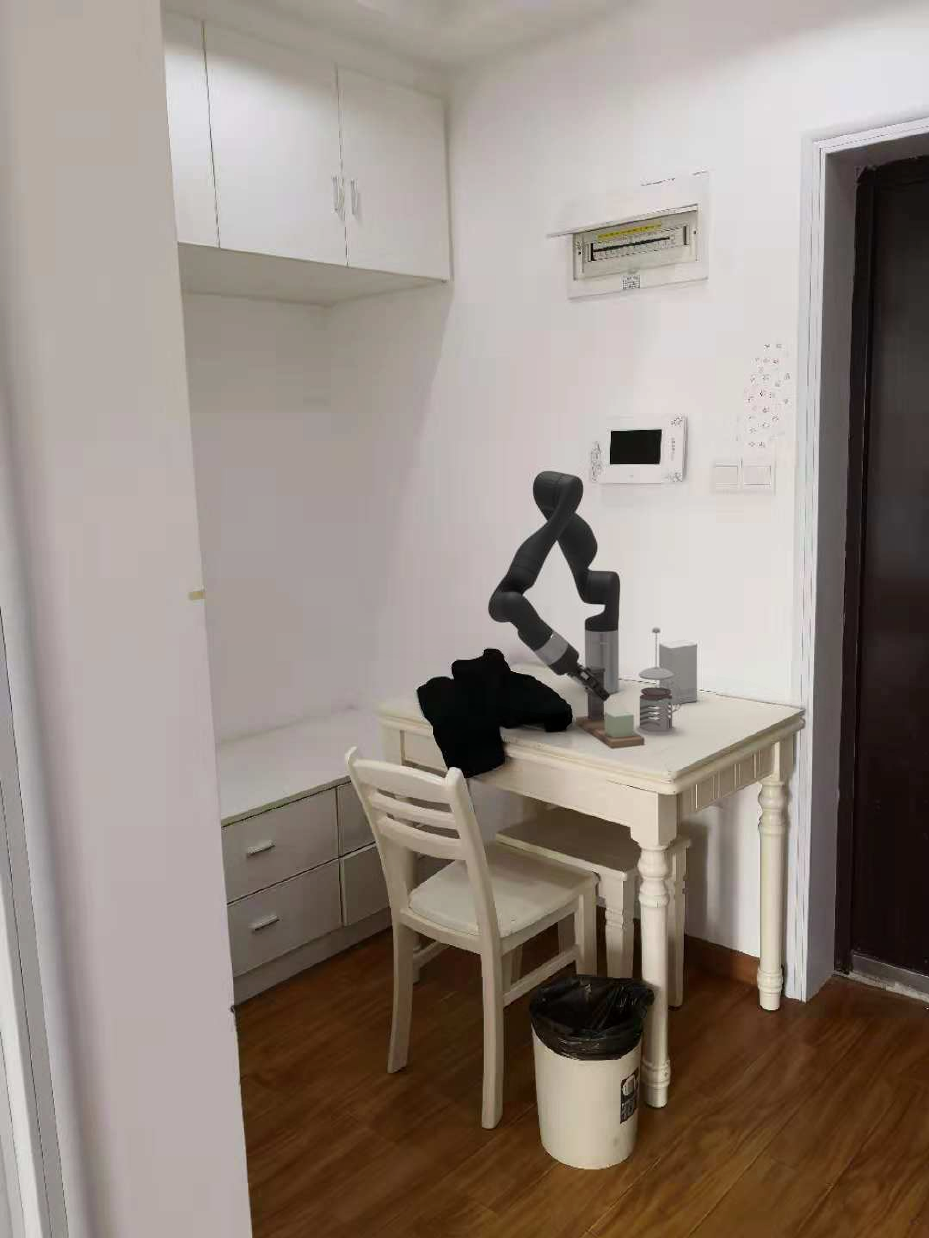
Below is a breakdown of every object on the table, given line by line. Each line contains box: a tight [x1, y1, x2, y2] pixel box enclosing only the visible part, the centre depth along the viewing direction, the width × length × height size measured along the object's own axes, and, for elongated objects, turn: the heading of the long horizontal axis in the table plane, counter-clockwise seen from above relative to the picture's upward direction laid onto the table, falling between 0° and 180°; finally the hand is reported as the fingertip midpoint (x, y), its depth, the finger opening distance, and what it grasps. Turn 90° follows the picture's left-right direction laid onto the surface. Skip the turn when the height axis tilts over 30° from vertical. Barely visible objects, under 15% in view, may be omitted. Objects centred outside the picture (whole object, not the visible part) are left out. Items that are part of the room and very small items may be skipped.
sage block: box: [604, 709, 635, 738], centre depth 241 cm, size 5×5×5 cm
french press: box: [635, 626, 683, 736], centre depth 247 cm, size 10×12×25 cm
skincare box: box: [658, 639, 698, 706], centre depth 275 cm, size 8×7×16 cm
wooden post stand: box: [575, 665, 645, 749], centre depth 246 cm, size 22×8×14 cm, turn 15°
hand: (600, 694), depth 254 cm, fingers open, 8 cm apart
